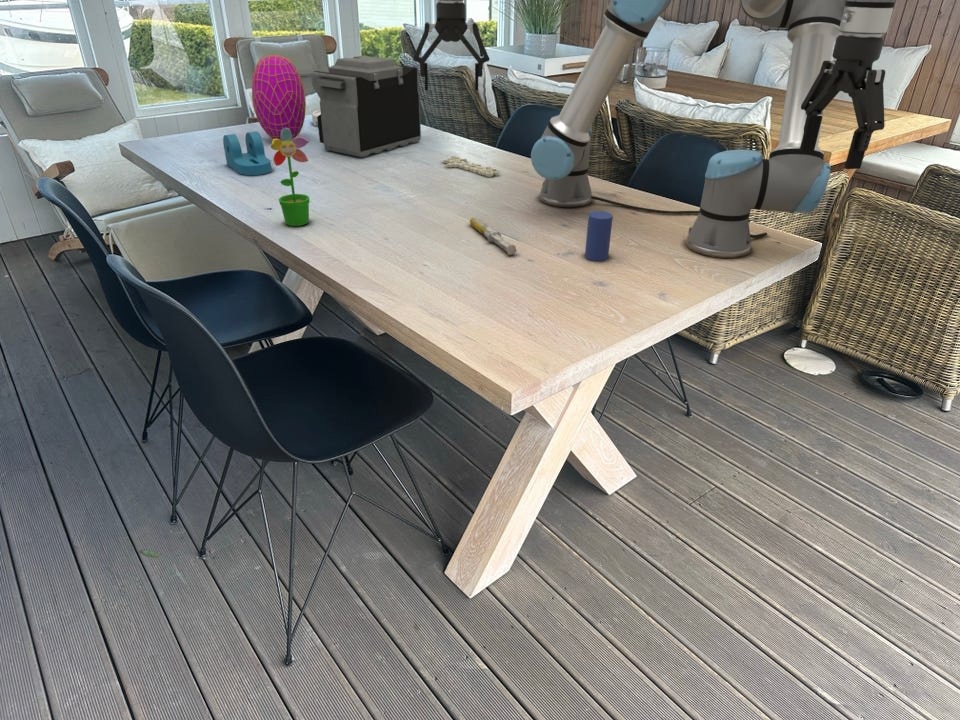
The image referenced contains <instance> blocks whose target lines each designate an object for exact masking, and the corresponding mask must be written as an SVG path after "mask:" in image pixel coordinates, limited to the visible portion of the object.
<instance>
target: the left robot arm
mask: <svg viewBox="0 0 960 720" xmlns="http://www.w3.org/2000/svg"><path fill="white" fill-rule="evenodd" d="M464 1H465V0H438V1H437V2H436V4H435V11H436V12H435V13H436V14H435V16H436V20H435V23H432V22H428V21H426V22H425V23H424V27H423V28H424V29H423V33H422V35H421V38H420V39H419V42H418V45H417V48H416V49H415V53H414V54H413V57H412V60H413V62H416V63H419V74H420V77H421V78H422V77H423V78H424V90H425V91H429V76H428V75H429V74H428V73H429V71H428V63H427V60H429V58H430V56H431V55H432V53H433V52H434V51H435V50H436V48H437V47H438V45H439V44H440V43H441V42H442V41H443V42H445V43H450V42H453V43H457V42H459V41H461V42H462V44H463V45H464V46H465V48H466V49H467V50H468V51H469V53H470V54H471V55H472V56H473V58H474V59H475V61H476V62H475V63H474V90H475V91H479V78H482V77H483V76H484V75H483V73H484V70H483V69H484V68H483V67H484V66H483V65H484V63H488V62H489V61H490V57H489V54H488V52H487V49H486V48H485V45H484V43H483V40H482V38H481V37H480V34H479V29H478V28H479V27H478V24H477V22H475V21H474V22H472V23H467V22H466V4H465V2H464ZM671 3H672V0H610V2H609V4H608V6H607V8H606V10H605V12H604V14H603V17H604V20H605V21H604V22H605V25H604V28H603V30H602V31H601V33H600V35H599V38H598V39H597V41H596V43H595V45H594V47H593V49H592V51H591V53H590V55H589V57H588V59H587V61H586V62H585V64H584V66H583V68H582V70H581V71H580V74H579V76H578V78H577V80H576V82H575V84H574V86H573V88H572V89H571V91H570V93H569V95H568V97H567V99H566V101H565V103H564V105H563V107H562V108H561V111H560V112H559V115H558V114H557V115H556V116H551V118H550V119H549V121H548V123H547V125H546V127H545V129H544V131H543V133H542V135H541V137H540V138H539V139H537V140H536V142H535V143H534V144H533V147H532V148H531V151H530V152H531V153H530V162H531V164H532V168H533V169H534V171H535V172H536V173H537V174H538V175H539V176H540V177H542V178H543V179H544V181H543V182H542V185H541V186H542V187H541V189H540V192H539V200H540V202H542V203H543V204H546V205H549V206H553V207H558V208H559V207H560V208H580V207H584V206H588V205H589V204H591V203H592V200H596V201H600V202H604V203H608V204H611V205H615V206H619V207H623V208H627V209H631V210H637V211H643V212H648V213H655V214H656V213H657V214H668V215H687V214H688V215H689V214H691V215H693V214H694V215H699V211H700V210H662V209H653V208H647V207H641V206H636V205H632V204H631V205H630V204H626V203H621V202H618V201H614V200H610V199H607V198H603V197H599V196H594V195H593V193H592V188H591V184H590V179H589V165H590V153H591V142H592V134H593V131H592V130H593V129H592V127H593V123H594V121H595V120H596V117H597V115H598V114H599V112H600V110H601V109H602V106H603V105H604V103H605V101H606V99H607V98H608V95H609V94H610V92H611V90H612V89H613V87H614V85H615V83H616V81H617V79H618V78H619V75H620V73H621V72H622V70H623V68H624V67H625V64H626V63H627V61H628V60H629V58H630V56H631V54H632V52H633V50H634V49H635V46H636V45H637V43H639V42H641V41H644V40H646V39H647V38H648V36H649V34H650V33H651V31H652V29H653V28H654V26H655V24H656V22H657V21H658V19H659V17H660V16H661V15H662V14H663V13H664V12H666V10H667V9H668V7H669V6H670V4H671ZM434 29H435V31H436V32H437V34H438V35H437V36H436V38H435V39H434V41H433V42H431V44H430V45H429V47H428V48H427V50H426V51H425V52H424V53H423V55H422V56H420V55H421V53H422V50H423V49H424V45H425V44H426V41H427V39H428V36H429V33H432V31H433V30H434ZM467 30H469V32H470V33H473V36H474V38H475V41H476V42H477V45H478V48H479V50H480V52H481V55H482V56H483V57H481V56H480V55H479V54H478V52H477V50H476V49H475V48H474V47H473V45H472V44H471V43H470V41H469V40H468V39H467V37H466V36H465V33H466V31H467ZM748 222H749V223H751V220H750V219H749V220H748Z"/></svg>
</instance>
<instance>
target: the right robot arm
mask: <svg viewBox="0 0 960 720" xmlns="http://www.w3.org/2000/svg"><path fill="white" fill-rule="evenodd" d="M739 1H740V7H741V10H742V12H743V13H744V15H745V16H746V17H747V18H749V19H750V20H751V21H752V22H754V23H756V24H759V25H762V26H764V27H769V28H774V29H775V28H779V29H787V33H786V35H787V36H786V38H787V40H788V41H789V42H790V43H791V44H792V48H791V56H790V62H789V69H788V76H787V83H786V90H785V95H784V103H783V111H782V116H781V124H780V128H779V129H780V130H779V135H778V136H779V137H778V144H777V146H776V147H775V148H774V149H773V150H771V151H770V153H769V158H768V159H767V158H764V156H763V154H762V152H760V151H758V150H754V149H729V150H724V151H721V152H717V153H715V154H714V155H712V156H711V157H710V158H709V160H708V164H707V167H706V172H705V174H704V178H705V179H704V185H703V191H702V195H701V201H700V206H699V210H698V211H699V214H697V217H696V219H695V221H694V223H693V225H692V226H691V227H688V234H687V236H686V240H685V241H686V242H685V244H686V247H687V248H688V249H690V250H691V251H693V252H695V253H697V254H701V255H703V256H707V257H711V258H718V259H719V258H720V259H734V258H735V259H736V258H740V257H744V256H747V255H748V254H749V253H750V252H751V247H752V240H751V239H759V238H763V237H766V236H768V232H762V233H759V234H751V231H750V222H748V220H750V215H751V210H758V211H770V212H781V213H790V214H809V213H812V212H813V211H815V210H816V209H817V208H818V206H819V205H820V203H821V201H822V200H823V197H824V196H825V192H826V189H827V187H828V184H829V180H830V177H831V164H830V163H828V162H825V161H824V158H825V153H824V151H823V150H822V149H821V148H820V147H819V144H820V143H819V142H820V137H821V129H822V122H823V117H824V116H823V115H824V110H825V109H826V107H827V106H828V105H830V104H831V102H832V101H833V100H834V99H835V98H836V96H837V95H839V93H840V92H843V93H844V94H847V95H848V96H849V97H850V99H851V102H852V106H853V110H854V114H855V119H856V123H857V128H856V129H855V130H854V131H853V134H852V138H851V141H850V144H849V145H850V146H849V149H848V153H847V156H846V160H845V164H844V167H843V168H844V169H846V170H858V169H861V168H862V164H863V160H864V156H865V153H866V152H867V150H868V149H869V146H870V145H869V144H870V142H871V139H872V136H873V133H874V132H876V131H882V130H884V129H885V127H886V126H885V102H884V101H885V98H884V97H885V96H884V82H885V77H886V70H885V69H873V65H874V62H876V61H878V60H879V59H880V57H881V54H882V50H883V46H884V43H885V39H884V37H883V35H885V34H887V33H888V30H889V26H890V23H891V20H892V19H891V18H892V15H893V11H894V6H895V3H896V0H739ZM832 58H833V59H834V60H832Z"/></svg>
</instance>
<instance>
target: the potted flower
mask: <svg viewBox="0 0 960 720" xmlns="http://www.w3.org/2000/svg"><path fill="white" fill-rule="evenodd" d="M280 136H281V140H282V141H281V140H279V139H273V138H272V141H271V145H270V148H271V149H272V150H274V151H275V153H274V155H273V163H274V165H275V167H277V166H282V164H283V163H285V161H286V158H287V164H288V165H287V166H288V171H289V178H284V179H282V180H281V181H280V184H281V185H282V186H285V187H291V193H290V194H286V195H282V196H280V197H279V198H278V202H279V205H280V207H281V210H282V215H283V219H284V223H285V225H287V226H290V227H291V226H292V227H301V226H304V225H306V224H309V222H310V206H309V205H310V196H309V195H307V194H303V193H296V192H295V191H296V190H295V184H294V178H296V177H297V176H299V174H300V173H299V171H297V170H295V171H293V168H292V162H291V161H292V160H291V159H293V160H294V161H296V162H297V163H307V162H309V158H308V156H307V155H306V153H305V152H303V150H301V148H303V147H305V146H306V145H308V144H309V143H310V140H308V139H307V138H306V137H303V136H299V135H298V136H296V137H295V138H293V139H292V134H291V131H290V130H289V129H288V128H284V129H283V130H282V131H281V134H280Z"/></svg>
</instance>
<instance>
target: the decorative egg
mask: <svg viewBox="0 0 960 720" xmlns="http://www.w3.org/2000/svg"><path fill="white" fill-rule="evenodd" d="M253 70H254V71H253V73H252V77H251V101H252V107H253V110H254V114H255V116H256V118H257V121H258V123H259V125H260V127H261V128H262V130H263V131H264V133H266V135H267V136H268V137H270V138H271V139H272V140H273V139H279V140H281V136H280V134H281V131H282V130H283V129H284V128H288V129H289V130H290V131H291V134H292V139H293V138H295V137H298V136H299V134H301V131H302V129H303V127H304V123H305V118H306V104H307V103H306V102H307V101H306V99H307V97H306V93H305V88H304V84H303V81H302V77H301V75H300V73H299V71H298V69H297V67H296V66H295V65H294V63H293V62H292V61H291V60H290V59H288V58H287V57H285V56H282V55H280V54H268V55H265V56H262V57H261V58H260V59H259V60H258V61H257V62H256V65H255V68H254V69H253ZM281 141H282V140H281Z"/></svg>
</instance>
